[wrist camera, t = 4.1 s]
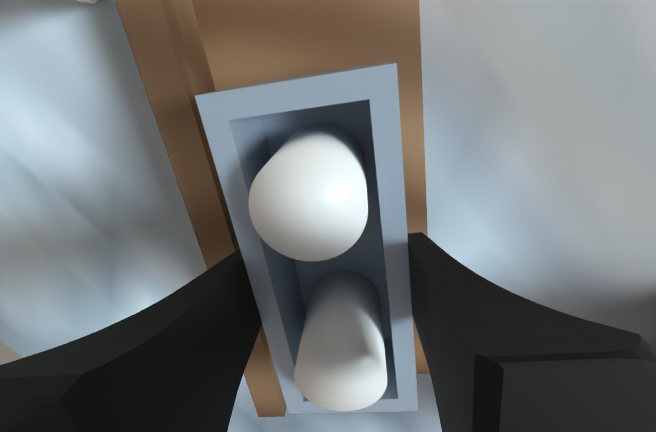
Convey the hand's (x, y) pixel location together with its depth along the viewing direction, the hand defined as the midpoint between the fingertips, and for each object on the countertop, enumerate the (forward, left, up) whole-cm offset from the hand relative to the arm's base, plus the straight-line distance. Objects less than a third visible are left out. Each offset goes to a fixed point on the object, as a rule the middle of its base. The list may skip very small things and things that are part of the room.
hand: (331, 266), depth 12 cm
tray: (0, 0, -3) cm, 3 cm away
